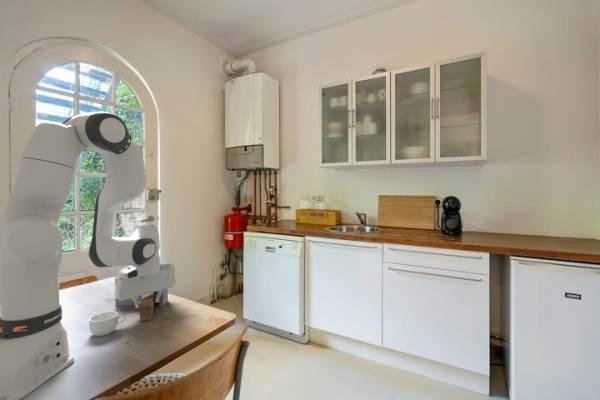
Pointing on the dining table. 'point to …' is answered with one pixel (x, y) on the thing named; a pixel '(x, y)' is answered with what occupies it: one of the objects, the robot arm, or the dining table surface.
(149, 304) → the wooden block
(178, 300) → the dining table surface
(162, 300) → the stepped grey building model
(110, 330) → the teacup
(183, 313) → the dining table surface
